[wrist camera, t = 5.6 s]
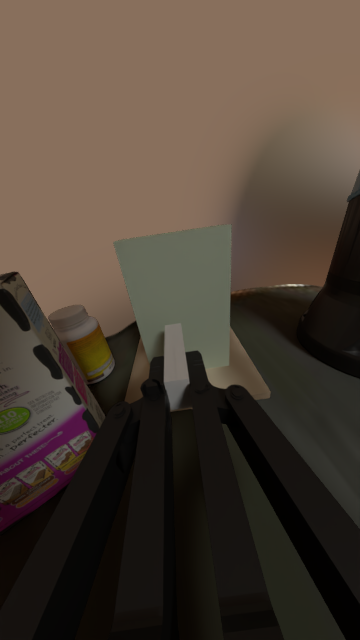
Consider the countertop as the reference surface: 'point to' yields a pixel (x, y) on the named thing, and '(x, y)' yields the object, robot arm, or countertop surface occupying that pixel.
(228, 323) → the pale green rectangular block
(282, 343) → the countertop surface
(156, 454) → the robot arm
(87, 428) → the candy bar box
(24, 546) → the countertop surface
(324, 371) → the countertop surface
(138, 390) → the board
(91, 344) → the supplement bottle
